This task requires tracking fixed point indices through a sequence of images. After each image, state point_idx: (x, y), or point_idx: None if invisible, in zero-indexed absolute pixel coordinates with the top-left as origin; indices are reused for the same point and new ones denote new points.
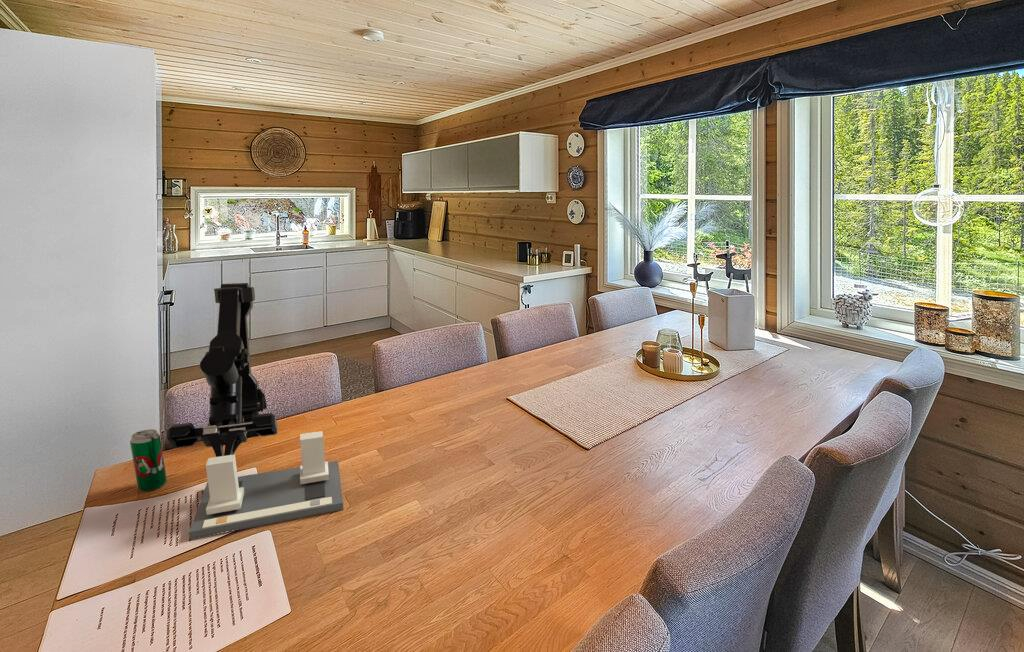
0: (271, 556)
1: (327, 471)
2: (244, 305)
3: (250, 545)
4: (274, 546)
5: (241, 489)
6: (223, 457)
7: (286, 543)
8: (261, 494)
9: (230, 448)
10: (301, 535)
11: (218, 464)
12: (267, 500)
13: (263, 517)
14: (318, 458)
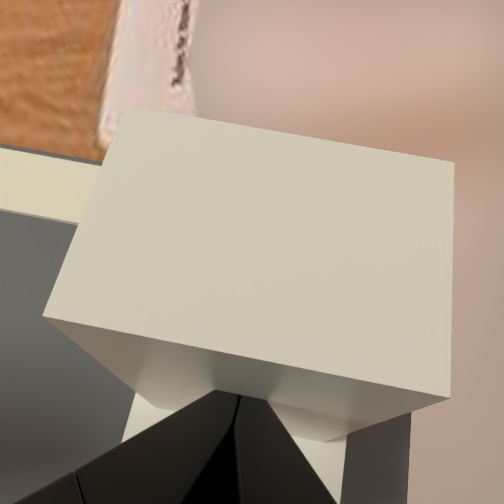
0: (137, 10)
1: None
2: None
3: (186, 90)
4: (114, 47)
5: (136, 432)
6: (222, 291)
7: (73, 43)
8: (36, 411)
9: (45, 492)
10: (11, 56)
11: (297, 140)
12: (30, 311)
13: (98, 166)
14: None
